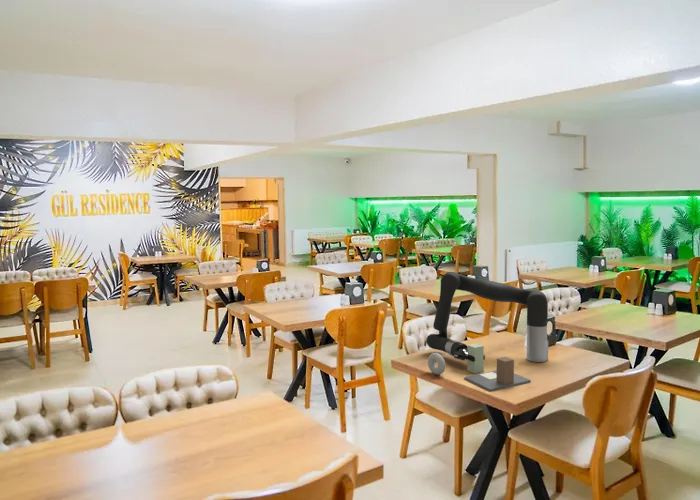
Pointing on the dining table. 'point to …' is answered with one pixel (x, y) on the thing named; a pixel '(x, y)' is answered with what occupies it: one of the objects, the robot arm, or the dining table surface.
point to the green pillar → (476, 358)
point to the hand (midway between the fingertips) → (479, 358)
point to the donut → (433, 366)
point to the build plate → (494, 381)
